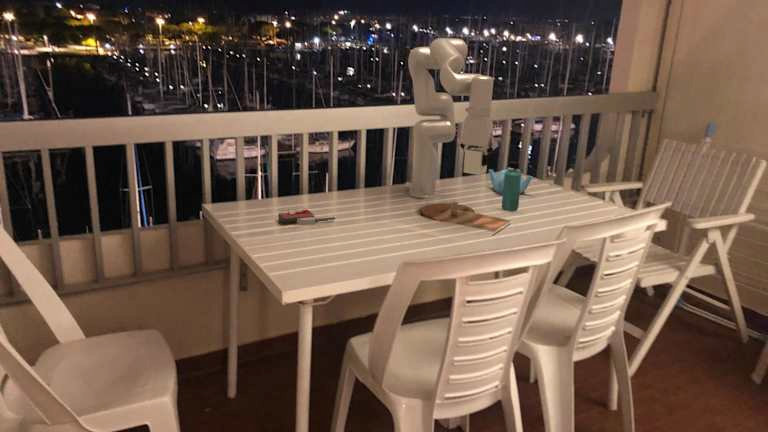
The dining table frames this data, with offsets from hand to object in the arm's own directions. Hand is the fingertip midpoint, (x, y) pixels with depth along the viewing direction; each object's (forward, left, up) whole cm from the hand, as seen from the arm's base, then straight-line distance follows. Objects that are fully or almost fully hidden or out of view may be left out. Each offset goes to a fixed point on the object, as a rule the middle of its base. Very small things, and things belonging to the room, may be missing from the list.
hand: (475, 163), depth 213 cm
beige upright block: (0, 0, -3) cm, 3 cm away
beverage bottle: (+6, +22, -22) cm, 32 cm away
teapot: (-6, +52, -22) cm, 57 cm away
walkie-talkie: (-48, -36, -23) cm, 64 cm away
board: (0, 0, -22) cm, 22 cm away
